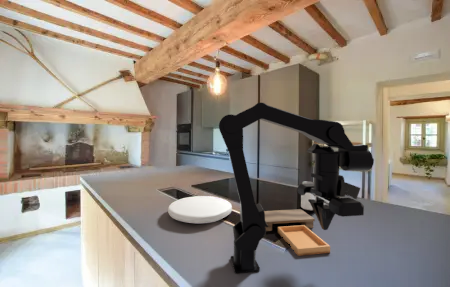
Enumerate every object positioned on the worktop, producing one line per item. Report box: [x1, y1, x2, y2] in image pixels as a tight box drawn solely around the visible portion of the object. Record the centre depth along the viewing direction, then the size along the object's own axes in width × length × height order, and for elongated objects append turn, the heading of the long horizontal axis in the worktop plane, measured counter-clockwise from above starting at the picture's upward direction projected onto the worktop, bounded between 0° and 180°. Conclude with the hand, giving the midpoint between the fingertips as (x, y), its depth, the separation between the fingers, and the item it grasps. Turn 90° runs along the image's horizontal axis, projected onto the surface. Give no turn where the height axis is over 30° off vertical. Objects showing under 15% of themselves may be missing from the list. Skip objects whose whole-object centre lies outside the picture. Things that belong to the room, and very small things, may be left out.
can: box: [300, 180, 314, 211], centre depth 96 cm, size 6×6×12 cm
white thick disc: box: [167, 195, 233, 225], centre depth 88 cm, size 28×6×27 cm
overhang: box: [264, 208, 316, 232], centre depth 79 cm, size 10×20×3 cm, turn 99°
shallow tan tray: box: [277, 224, 331, 257], centre depth 66 cm, size 14×10×2 cm
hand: (324, 229), depth 54 cm, fingers closed
